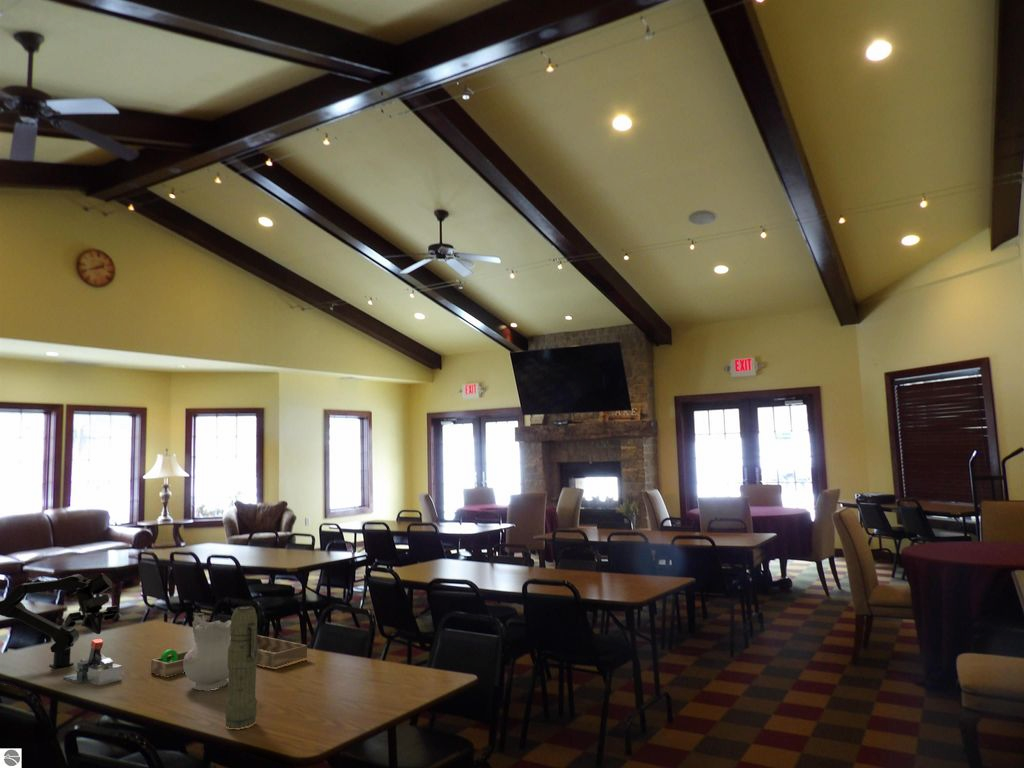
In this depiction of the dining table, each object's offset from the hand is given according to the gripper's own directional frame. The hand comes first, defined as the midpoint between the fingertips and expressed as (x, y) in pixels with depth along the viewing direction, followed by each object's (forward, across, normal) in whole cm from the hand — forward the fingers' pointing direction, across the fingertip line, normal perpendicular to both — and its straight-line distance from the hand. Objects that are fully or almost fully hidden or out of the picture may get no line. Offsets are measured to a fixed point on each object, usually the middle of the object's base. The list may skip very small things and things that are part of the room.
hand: (99, 633), depth 279 cm
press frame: (+15, -6, +4) cm, 17 cm away
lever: (+16, -6, +2) cm, 17 cm away
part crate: (+30, +17, -10) cm, 35 cm away
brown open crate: (+39, +45, -20) cm, 63 cm away
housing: (+22, -6, -3) cm, 23 cm away
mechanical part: (+29, +17, -9) cm, 35 cm away
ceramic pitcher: (+49, +12, -29) cm, 58 cm away
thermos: (+80, -6, -60) cm, 100 cm away
